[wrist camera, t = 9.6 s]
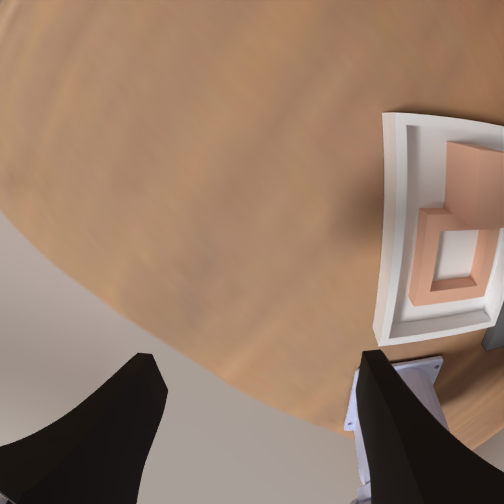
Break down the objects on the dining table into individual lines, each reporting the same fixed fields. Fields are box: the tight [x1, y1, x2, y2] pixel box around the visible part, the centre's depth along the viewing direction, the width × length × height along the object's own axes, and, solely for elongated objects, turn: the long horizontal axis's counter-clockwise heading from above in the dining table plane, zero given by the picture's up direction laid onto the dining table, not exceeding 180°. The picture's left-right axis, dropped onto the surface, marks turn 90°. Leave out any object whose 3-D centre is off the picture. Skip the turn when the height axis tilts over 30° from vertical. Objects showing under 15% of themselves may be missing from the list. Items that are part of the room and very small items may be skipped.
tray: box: [373, 112, 504, 346], centre depth 15 cm, size 14×10×2 cm
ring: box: [408, 141, 504, 306], centre depth 14 cm, size 10×6×4 cm, turn 6°
